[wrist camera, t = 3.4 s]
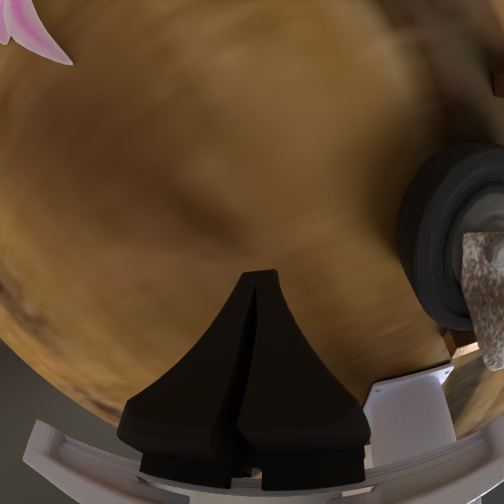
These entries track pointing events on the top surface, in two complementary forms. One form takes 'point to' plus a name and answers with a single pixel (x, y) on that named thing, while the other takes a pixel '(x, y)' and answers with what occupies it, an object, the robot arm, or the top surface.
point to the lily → (28, 30)
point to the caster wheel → (459, 242)
